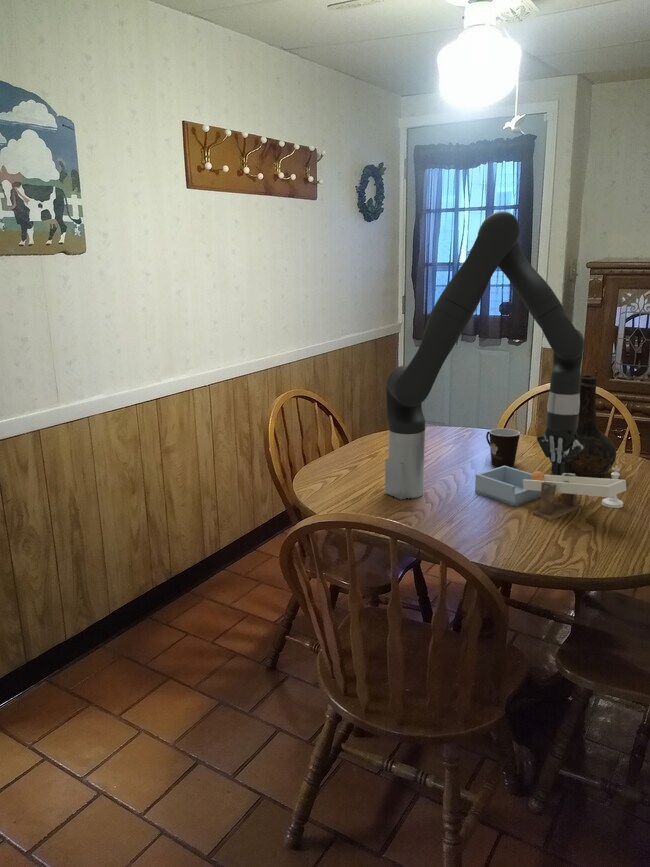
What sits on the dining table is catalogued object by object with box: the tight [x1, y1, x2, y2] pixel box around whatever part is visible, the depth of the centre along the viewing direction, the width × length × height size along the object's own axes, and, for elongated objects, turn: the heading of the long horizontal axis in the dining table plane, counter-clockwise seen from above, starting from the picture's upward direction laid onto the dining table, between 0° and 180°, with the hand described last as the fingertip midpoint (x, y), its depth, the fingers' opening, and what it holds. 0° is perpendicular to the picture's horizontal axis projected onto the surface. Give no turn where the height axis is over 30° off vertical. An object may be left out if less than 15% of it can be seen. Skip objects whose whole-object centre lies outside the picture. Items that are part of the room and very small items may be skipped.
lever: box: [523, 473, 627, 498], centre depth 159 cm, size 23×16×2 cm
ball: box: [531, 470, 545, 481], centre depth 164 cm, size 3×3×3 cm
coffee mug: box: [485, 427, 521, 468], centre depth 195 cm, size 12×9×10 cm
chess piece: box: [601, 465, 624, 509], centre depth 163 cm, size 5×5×10 cm
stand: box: [532, 474, 583, 521], centre depth 160 cm, size 5×13×8 cm, turn 127°
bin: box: [474, 466, 541, 507], centre depth 171 cm, size 12×13×5 cm
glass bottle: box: [548, 374, 617, 478], centre depth 183 cm, size 18×18×28 cm
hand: (557, 475), depth 170 cm, fingers closed
